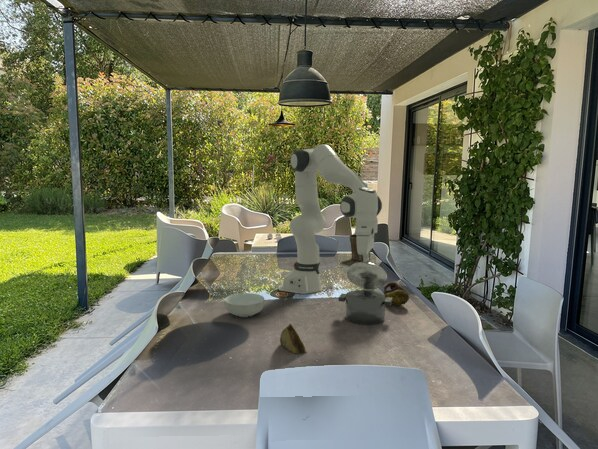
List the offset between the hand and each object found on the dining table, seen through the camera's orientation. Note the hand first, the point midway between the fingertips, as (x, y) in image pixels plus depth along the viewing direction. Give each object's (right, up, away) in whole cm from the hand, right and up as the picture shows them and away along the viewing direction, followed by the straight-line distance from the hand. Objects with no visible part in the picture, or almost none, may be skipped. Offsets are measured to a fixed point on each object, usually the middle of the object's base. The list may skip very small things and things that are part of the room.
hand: (366, 261), depth 182 cm
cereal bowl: (-51, -24, +9) cm, 56 cm away
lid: (+1, -7, +4) cm, 8 cm away
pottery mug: (+19, -20, +33) cm, 43 cm away
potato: (+17, -22, +20) cm, 34 cm away
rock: (-30, -28, -27) cm, 49 cm away
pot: (0, -24, +3) cm, 24 cm away
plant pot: (+14, -9, +118) cm, 119 cm away
